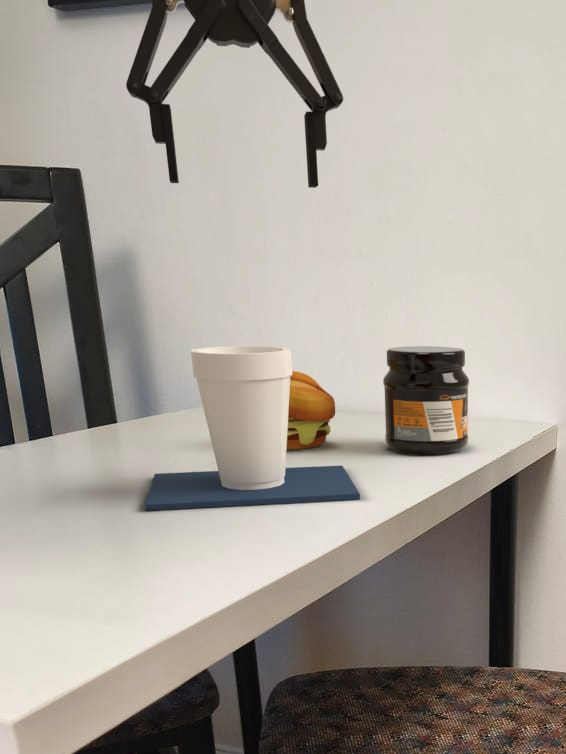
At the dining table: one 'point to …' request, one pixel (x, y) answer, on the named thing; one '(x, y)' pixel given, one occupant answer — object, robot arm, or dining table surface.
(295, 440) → the cheeseburger
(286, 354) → the foam cup
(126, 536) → the dining table surface
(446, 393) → the supplement container
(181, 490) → the cup mat
